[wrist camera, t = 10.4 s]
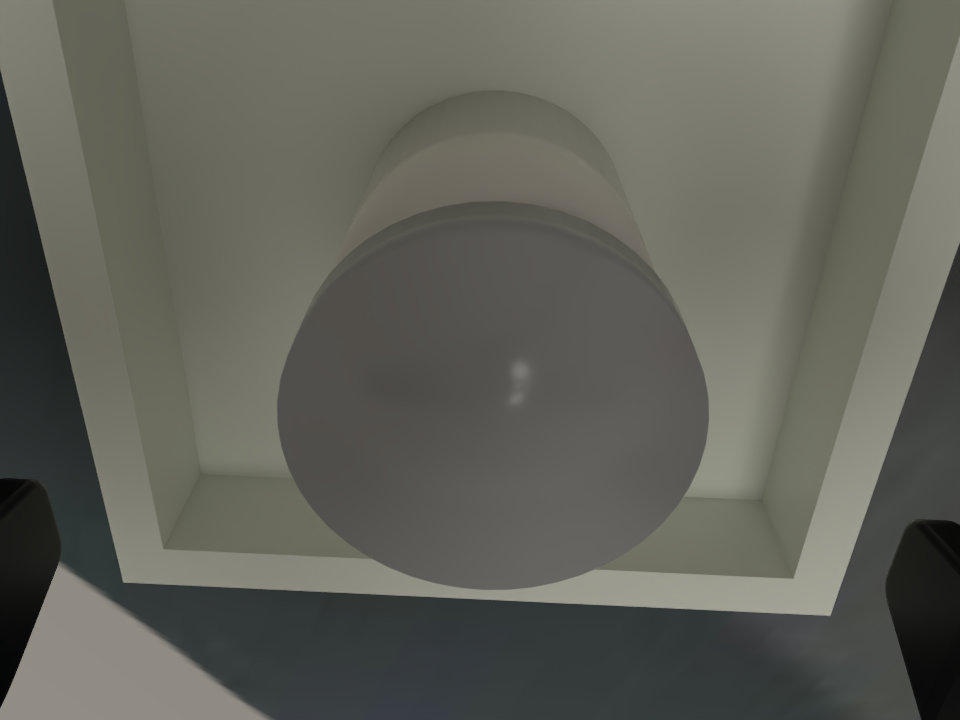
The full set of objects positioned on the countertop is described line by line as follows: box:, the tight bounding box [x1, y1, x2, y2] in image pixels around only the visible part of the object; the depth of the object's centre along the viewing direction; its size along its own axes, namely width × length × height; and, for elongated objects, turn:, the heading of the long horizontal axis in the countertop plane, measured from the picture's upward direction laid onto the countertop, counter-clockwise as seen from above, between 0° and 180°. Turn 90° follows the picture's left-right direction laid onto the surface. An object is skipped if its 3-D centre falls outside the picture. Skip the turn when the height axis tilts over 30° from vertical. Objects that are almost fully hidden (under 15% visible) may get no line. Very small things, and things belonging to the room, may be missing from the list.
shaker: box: [277, 91, 709, 590], centre depth 13 cm, size 5×5×7 cm
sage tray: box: [0, 0, 960, 616], centre depth 16 cm, size 15×15×4 cm
